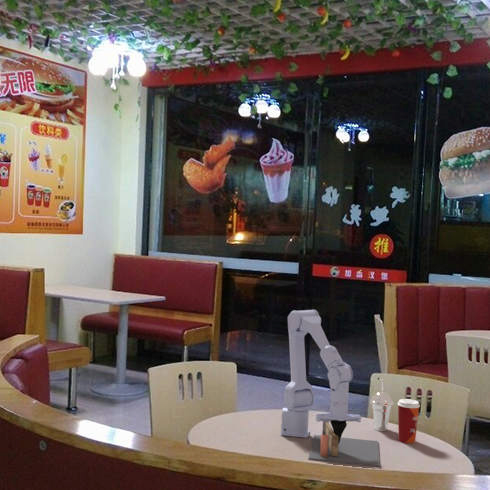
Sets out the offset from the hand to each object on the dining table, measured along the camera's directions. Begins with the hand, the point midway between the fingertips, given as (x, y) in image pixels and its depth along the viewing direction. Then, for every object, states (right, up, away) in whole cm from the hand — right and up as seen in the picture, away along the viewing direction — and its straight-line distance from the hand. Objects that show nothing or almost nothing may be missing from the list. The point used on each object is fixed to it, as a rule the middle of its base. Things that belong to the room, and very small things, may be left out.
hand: (337, 443), depth 219 cm
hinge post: (-3, -3, +11) cm, 11 cm away
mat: (+3, -3, +2) cm, 4 cm away
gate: (-2, -2, +1) cm, 3 cm away
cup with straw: (+19, -3, +27) cm, 34 cm away
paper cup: (+26, -4, +15) cm, 30 cm away
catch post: (-5, -3, -6) cm, 8 cm away
